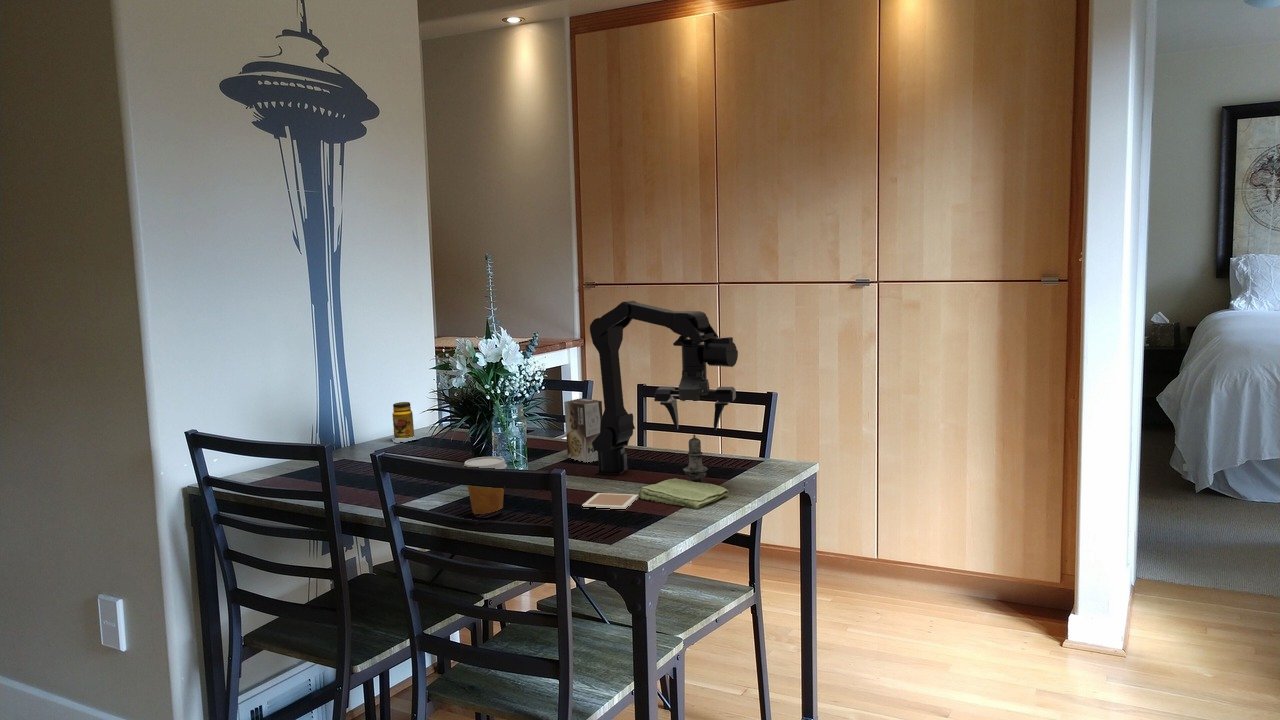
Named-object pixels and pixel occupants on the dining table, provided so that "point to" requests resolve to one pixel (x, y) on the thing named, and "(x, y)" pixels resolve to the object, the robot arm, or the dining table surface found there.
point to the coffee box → (582, 428)
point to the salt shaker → (695, 462)
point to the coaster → (611, 500)
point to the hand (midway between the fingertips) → (696, 429)
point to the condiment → (403, 420)
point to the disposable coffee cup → (484, 496)
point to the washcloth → (683, 493)
